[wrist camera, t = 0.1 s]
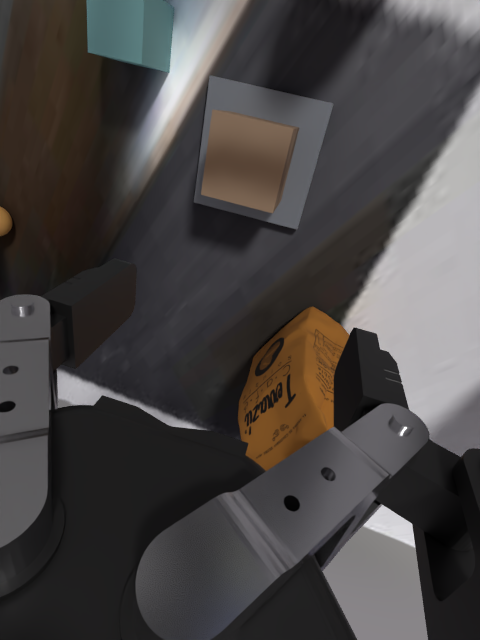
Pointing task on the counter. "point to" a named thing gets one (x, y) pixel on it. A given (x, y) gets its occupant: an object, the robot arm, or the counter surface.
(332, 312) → the counter surface
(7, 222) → the figurine
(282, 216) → the slate pad
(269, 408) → the coffee package
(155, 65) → the teal block
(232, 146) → the walnut block
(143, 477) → the robot arm
